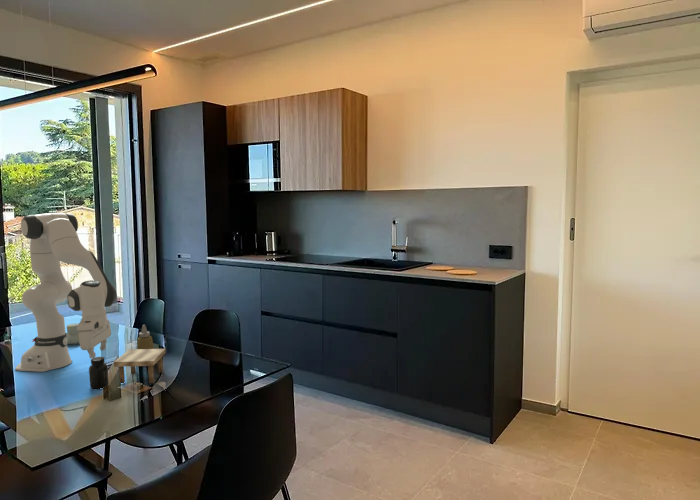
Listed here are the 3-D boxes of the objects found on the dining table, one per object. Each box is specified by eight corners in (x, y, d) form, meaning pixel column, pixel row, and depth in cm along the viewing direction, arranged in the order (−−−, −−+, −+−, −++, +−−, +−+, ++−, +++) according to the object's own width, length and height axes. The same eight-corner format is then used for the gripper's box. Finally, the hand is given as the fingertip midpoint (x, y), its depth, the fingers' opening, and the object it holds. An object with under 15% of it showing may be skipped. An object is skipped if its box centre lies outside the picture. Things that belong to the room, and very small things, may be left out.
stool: (115, 385, 206) (113, 362, 205) (130, 371, 222) (129, 349, 221) (154, 384, 207) (153, 361, 206) (166, 370, 223) (165, 348, 222)
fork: (173, 405, 193) (173, 399, 192) (152, 384, 207) (152, 378, 207) (180, 403, 195) (180, 397, 194) (159, 383, 209) (159, 376, 209)
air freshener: (76, 346, 258) (74, 327, 257) (60, 346, 258) (59, 327, 257) (87, 339, 269) (86, 321, 268) (72, 339, 269) (71, 322, 268)
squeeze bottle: (148, 365, 229) (146, 327, 226) (133, 364, 230) (130, 327, 228) (158, 359, 236) (156, 323, 234) (143, 358, 238) (141, 322, 236)
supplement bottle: (105, 382, 210) (103, 354, 208) (111, 386, 205) (109, 358, 204) (88, 386, 205) (85, 358, 204) (93, 391, 200) (91, 362, 199)
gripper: (98, 314, 212) (101, 346, 213) (74, 328, 191) (78, 362, 193) (113, 314, 212) (116, 345, 214) (91, 327, 192) (94, 361, 193)
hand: (98, 353), depth 203 cm, fingers open, 8 cm apart
